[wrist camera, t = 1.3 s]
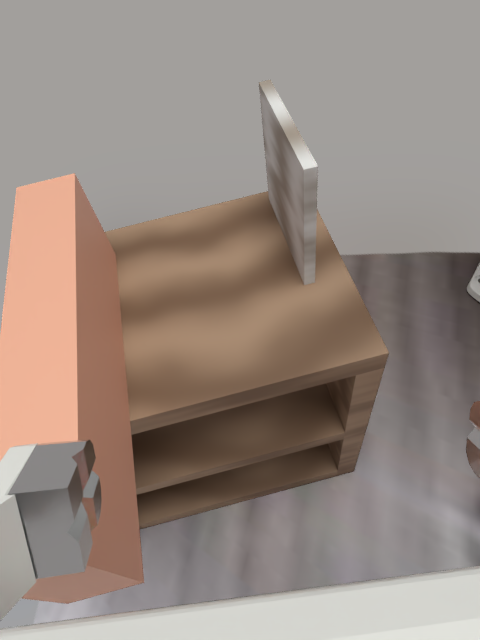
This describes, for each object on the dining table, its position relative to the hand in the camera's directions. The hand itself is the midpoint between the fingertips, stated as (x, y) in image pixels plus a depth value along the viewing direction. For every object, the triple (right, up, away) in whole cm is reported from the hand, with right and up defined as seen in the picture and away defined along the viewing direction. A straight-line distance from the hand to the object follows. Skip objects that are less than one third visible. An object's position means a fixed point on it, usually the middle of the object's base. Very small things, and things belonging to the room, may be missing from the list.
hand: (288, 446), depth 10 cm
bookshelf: (-3, -10, +45) cm, 46 cm away
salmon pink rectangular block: (-11, -2, +20) cm, 23 cm away
